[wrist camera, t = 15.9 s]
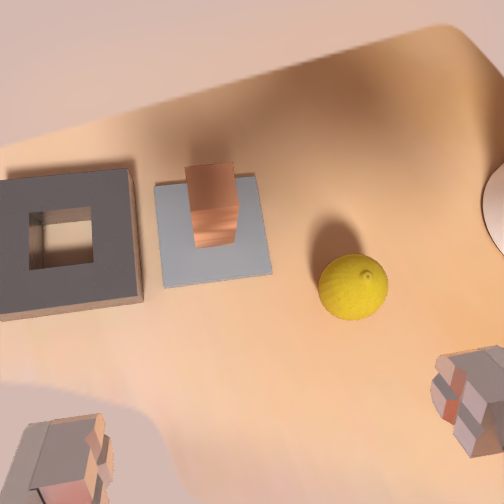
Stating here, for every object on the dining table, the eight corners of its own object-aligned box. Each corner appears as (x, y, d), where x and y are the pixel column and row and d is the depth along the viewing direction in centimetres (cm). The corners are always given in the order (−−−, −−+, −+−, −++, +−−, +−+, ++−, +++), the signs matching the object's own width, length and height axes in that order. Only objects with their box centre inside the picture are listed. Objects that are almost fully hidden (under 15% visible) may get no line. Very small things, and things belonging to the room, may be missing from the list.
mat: (254, 179, 42) (255, 175, 41) (271, 274, 39) (272, 272, 38) (154, 190, 41) (153, 186, 40) (164, 288, 38) (163, 286, 37)
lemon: (304, 272, 40) (325, 246, 32) (359, 264, 40) (393, 237, 33) (316, 330, 38) (341, 317, 30) (373, 321, 39) (412, 306, 31)
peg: (228, 208, 40) (232, 162, 31) (234, 243, 39) (239, 205, 30) (191, 213, 40) (184, 167, 31) (195, 248, 39) (190, 211, 30)
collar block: (133, 182, 41) (127, 168, 38) (143, 302, 37) (137, 295, 35) (4, 196, 39) (-12, 181, 36) (3, 321, 36) (-16, 316, 33)
